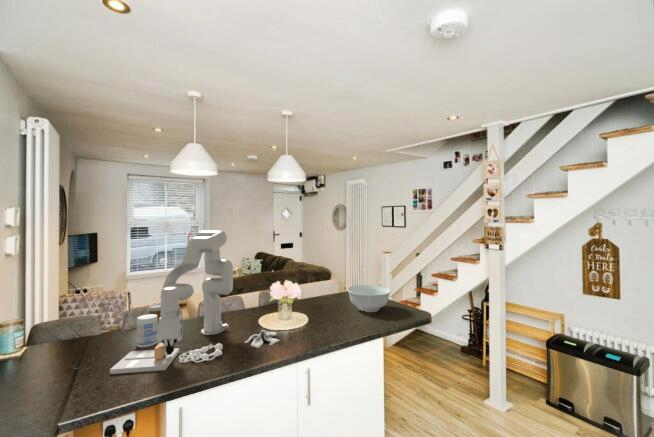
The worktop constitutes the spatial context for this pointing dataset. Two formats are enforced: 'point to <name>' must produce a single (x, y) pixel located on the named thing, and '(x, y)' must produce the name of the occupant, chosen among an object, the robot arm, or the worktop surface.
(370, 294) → the bowl
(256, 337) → the cloth
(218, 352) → the tangled rod sculpture
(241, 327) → the worktop surface
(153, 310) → the disposable coffee cup
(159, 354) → the block
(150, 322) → the supplement tub
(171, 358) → the console
